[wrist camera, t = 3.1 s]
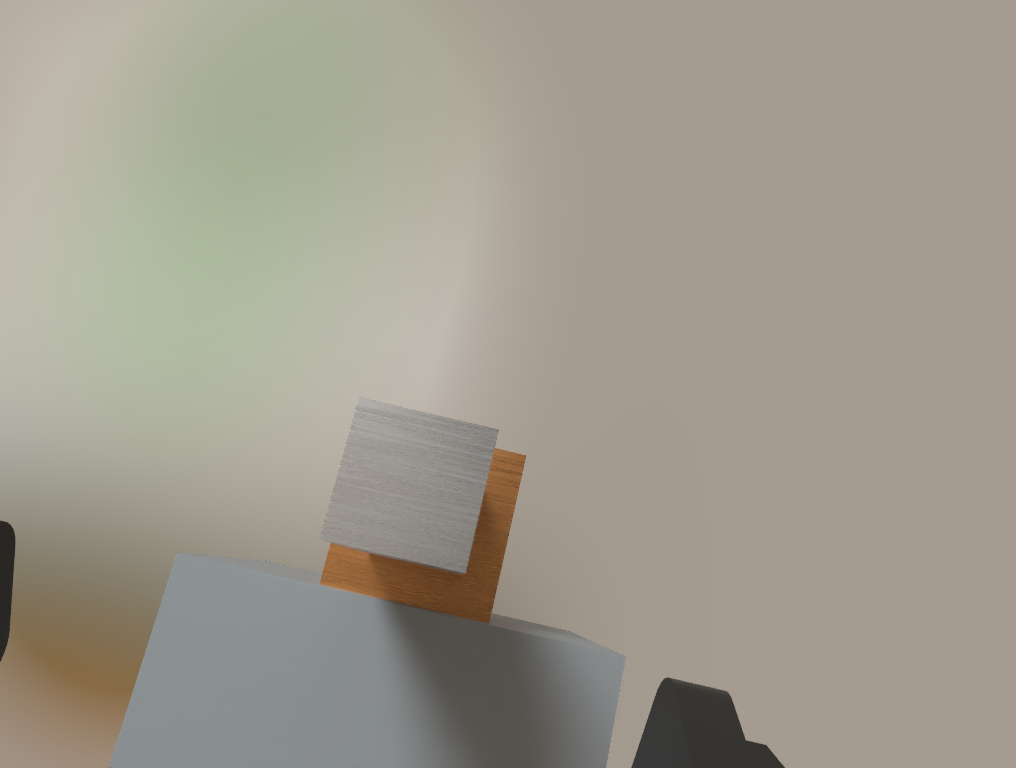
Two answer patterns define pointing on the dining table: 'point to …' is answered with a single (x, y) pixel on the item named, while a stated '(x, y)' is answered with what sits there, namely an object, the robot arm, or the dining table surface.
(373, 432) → the pin
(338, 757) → the tall grey block
